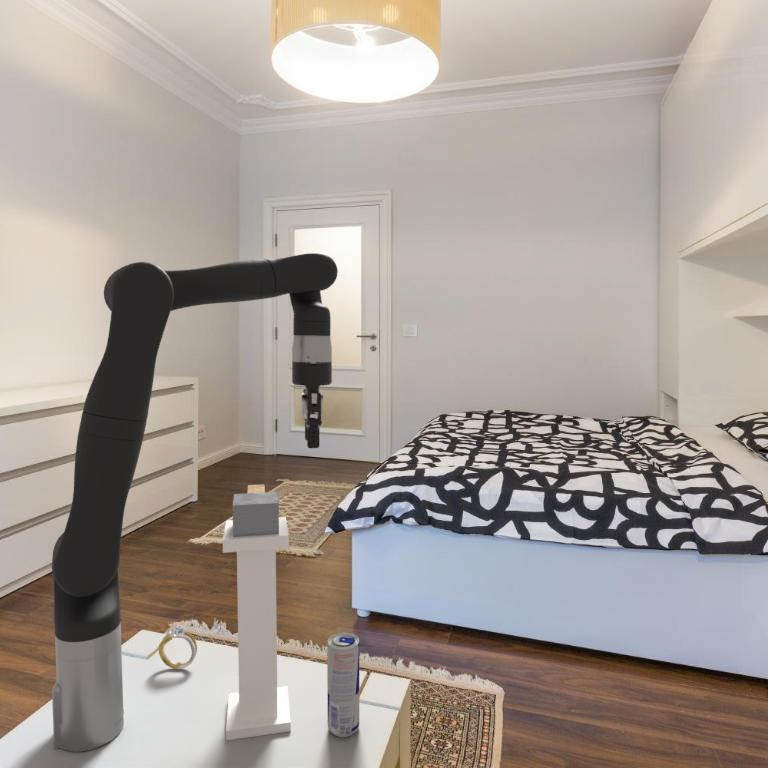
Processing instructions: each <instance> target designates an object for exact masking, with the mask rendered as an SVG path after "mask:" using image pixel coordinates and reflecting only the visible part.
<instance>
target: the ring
mask: <svg viewBox="0 0 768 768" xmlns="http://www.w3.org/2000/svg"><path fill="white" fill-rule="evenodd" d="M175 638H176V639H177V638H179V639H182V640H183V639H184V640H185V641H187V643H188V645H189V646H190V649H191V655H190V658H189V660H188V661H186V662H183V663H181V662H177V663H176V662H173V661H172V660H170V659H169V658H168V656H167V654H166V652H165V644H166V643H167V642H169V641H171V640H173V639H175ZM197 652H198V643H197V640H196V639H195V637H194V636H193V635H192V634H191V633H190V632H188V631H186V629H185V628H183V627H181V626H175V627H174V628H173V630H172V629H168V630H167V633H166V635H164V637H163V638H162V640H161V642H160V643H159V645H158V655H159V657H160V659H161V661H162V662H163V664H165V665H166V666H168V667H169V668H171V669H173V670H175V669H179V670H182V669H185V668H187V667H189V666H190V665H191V664H192V662H194V660H195V659H196V656H197Z"/></svg>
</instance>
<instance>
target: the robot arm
mask: <svg viewBox="0 0 768 768" xmlns="http://www.w3.org/2000/svg"><path fill="white" fill-rule="evenodd" d="M337 277H338V266H337V264H336V261H335V260H334V259H333V258H332V257H331V256H330V255H329V254H326V253H324V252H307V253H302V254H295V255H290V256H286V257H278V258H277V257H276V258H274V257H273V258H268V257H267V258H258V259H249V260H239V261H232V262H227V263H222V264H217V265H212V266H207V267H206V266H205V267H199V268H191V269H179V270H164V269H163V268H162V267H160V266H159V265H156V264H154V263H152V262H148V261H147V262H146V261H139V262H132V263H129V264H126V265H123V266H122V267H119V268H118V269H116V270H115V271H113V273H111V274H110V276H109V277H108V278H107V280H106V281H105V285H104V289H103V298H104V302H105V304H106V306H107V307H108V309H109V310H110V311H111V313H110V314H111V315H110V322H109V330H108V337H107V342H106V346H105V350H104V353H103V356H102V358H101V361H100V363H99V365H98V368H97V370H96V372H95V374H94V377H93V379H92V382H91V384H90V386H89V388H88V392H87V394H86V397H85V401H84V404H83V408H82V413H81V417H80V418H81V419H80V422H79V426H78V427H79V428H78V432H77V433H78V434H77V438H76V445H75V456H74V469H73V470H74V472H73V476H74V477H73V493H72V500H71V501H72V502H71V505H70V510H69V515H68V518H67V520H66V521H67V522H66V525H65V529H64V531H63V533H61V534H60V536H59V537H58V538H57V540H56V542H55V543H54V547H53V549H52V561H51V572H52V576H53V600H54V601H53V607H54V608H53V613H54V614H53V617H54V618H53V620H54V621H53V623H54V642H55V643H54V646H55V669H56V671H55V672H56V681H55V683H54V685H53V686H52V688H51V702H52V726H53V727H52V730H53V749H63V750H66V751H70V752H85V751H91V750H94V749H97V748H100V747H101V746H103V745H106V744H107V743H109V742H111V741H113V739H115V738H116V737H117V736H118V735H119V734H120V733H121V731H122V730H123V727H124V719H125V718H124V713H125V711H124V689H123V683H124V682H123V659H122V658H123V657H122V656H123V655H122V654H123V653H122V625H121V623H122V622H121V621H122V620H121V619H122V618H121V616H122V615H121V600H120V587H119V567H120V563H121V562H120V561H121V547H122V545H121V543H122V534H123V533H122V532H123V525H124V523H123V522H124V515H125V508H126V504H127V500H128V496H129V492H130V489H131V485H132V483H133V479H134V476H135V473H136V469H137V465H138V461H139V456H140V452H141V449H142V445H143V442H144V436H145V432H146V427H147V420H148V416H149V409H150V403H151V398H152V392H153V386H154V385H153V384H154V378H155V376H154V375H155V370H156V369H155V368H156V362H157V358H158V357H157V356H158V352H159V348H160V345H161V341H162V339H163V335H164V332H165V329H166V327H167V326H166V325H167V323H168V321H169V317H170V314H171V312H173V311H176V310H180V309H184V308H191V307H195V306H202V305H203V306H205V305H211V304H212V305H213V304H223V303H237V302H238V303H239V302H249V301H258V300H265V299H272V298H276V297H280V296H284V295H289V299H290V304H291V308H292V312H293V321H292V322H293V324H292V325H293V327H292V329H293V334H292V335H293V337H292V341H293V342H292V346H291V347H292V348H291V378H292V379H291V382H292V384H293V385H296V386H305V387H304V388H303V391H302V392H303V393H301V397H300V399H301V413H302V415H303V421H304V439H305V441H306V442H307V444H306V447H307V448H309V449H319V448H320V428H321V426H322V424H323V420H322V417H323V403H324V395H323V394H322V393H321V392H320V386H329V385H331V384H332V379H333V378H332V377H333V374H332V372H333V369H332V368H333V365H332V364H333V363H332V361H333V357H332V356H333V348H332V341H331V329H332V328H331V324H332V323H331V311H330V309H329V308H328V307H327V306H326V305H324V304H323V301H322V295H321V291H325V290H328V289H329V288H330V287H331V286H333V284H334V283H335V282H336V280H337V279H338V278H337Z"/></svg>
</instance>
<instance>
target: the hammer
mask: <svg viewBox="0 0 768 768" xmlns="http://www.w3.org/2000/svg"><path fill="white" fill-rule="evenodd" d="M265 489H266V488H265V484H248V485H247V491H246V493H235V494H234V495H233V499H232V520H233V537H243V536H258V535H273V534H279V517H280V512H279V505H280V504H279V497H278V491H270V492H267V491H266V492H265Z"/></svg>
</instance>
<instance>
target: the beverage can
mask: <svg viewBox="0 0 768 768" xmlns="http://www.w3.org/2000/svg"><path fill="white" fill-rule="evenodd" d="M326 646H327V649H326V652H327V653H326V654H327V655H326V656H327V657H326V658H327V667H326V668H327V672H326V673H327V678H326V679H327V682H326V683H327V685H326V686H327V728H328V730H329V732H331V734H333V735H334V736H336V737H338V738H348V737H350V736H353V734H355V733H356V732H357V731H358V729H359V727H360V639H359V637H358V636H357V635H356V634H354V633H350V632H339V633H335V634H332V635H331V636H329V637H328V639H327V645H326Z"/></svg>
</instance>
